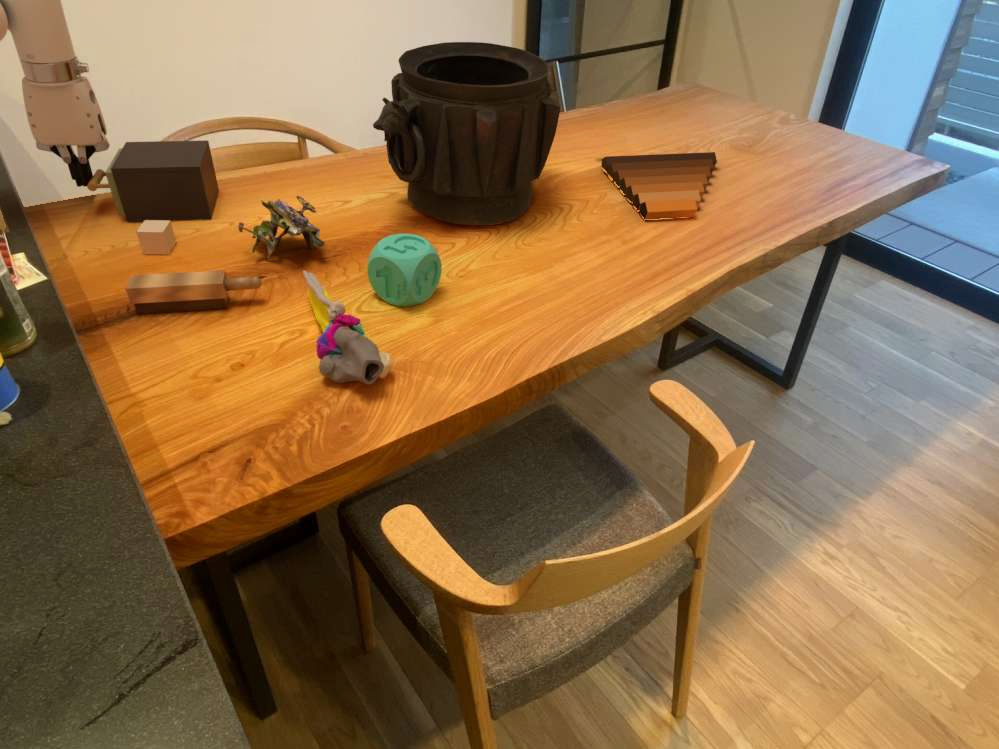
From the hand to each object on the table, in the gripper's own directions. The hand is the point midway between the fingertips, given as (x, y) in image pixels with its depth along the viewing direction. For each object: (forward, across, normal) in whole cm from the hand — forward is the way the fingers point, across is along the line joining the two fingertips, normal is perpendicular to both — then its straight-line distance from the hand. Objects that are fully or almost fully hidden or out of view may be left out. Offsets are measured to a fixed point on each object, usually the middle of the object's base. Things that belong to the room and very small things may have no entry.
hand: (84, 183), depth 118 cm
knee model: (+4, -41, +46) cm, 62 cm away
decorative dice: (+3, -51, +34) cm, 61 cm away
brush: (+4, -22, +33) cm, 40 cm away
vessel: (+2, -67, +3) cm, 67 cm away
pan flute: (+1, -110, +3) cm, 110 cm away
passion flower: (+4, -33, +20) cm, 39 cm away
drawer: (+3, -10, 0) cm, 10 cm away
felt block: (+3, -13, +18) cm, 22 cm away
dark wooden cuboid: (+4, -14, 0) cm, 14 cm away
